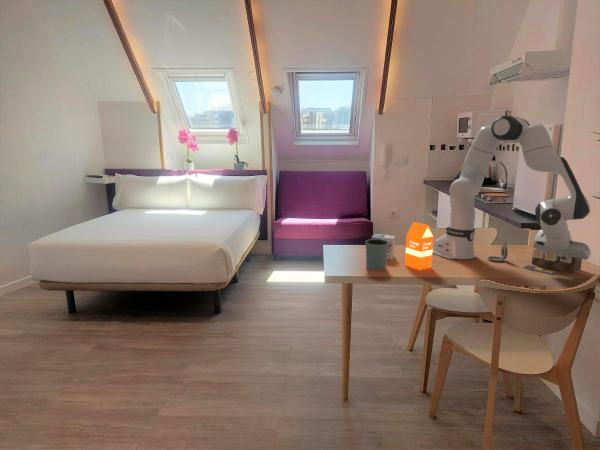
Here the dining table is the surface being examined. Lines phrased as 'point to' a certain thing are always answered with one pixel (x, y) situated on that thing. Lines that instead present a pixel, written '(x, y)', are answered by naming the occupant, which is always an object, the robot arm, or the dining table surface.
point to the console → (559, 264)
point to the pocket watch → (503, 254)
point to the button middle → (551, 256)
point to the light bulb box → (390, 243)
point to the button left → (538, 253)
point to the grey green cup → (376, 253)
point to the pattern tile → (540, 269)
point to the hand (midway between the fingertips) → (564, 257)
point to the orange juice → (419, 246)
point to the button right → (567, 260)
